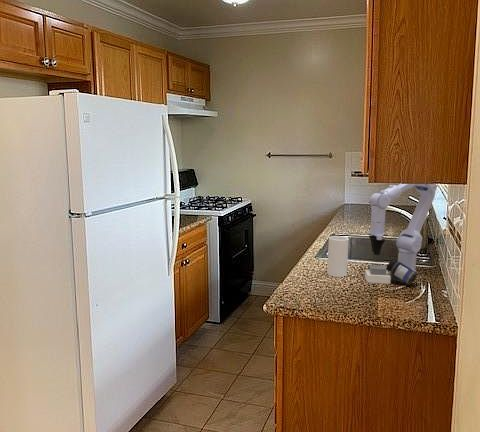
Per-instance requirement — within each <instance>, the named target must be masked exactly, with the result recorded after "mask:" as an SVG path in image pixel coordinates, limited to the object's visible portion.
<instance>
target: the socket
mask: <svg viewBox="0 0 480 432" xmlns="http://www.w3.org/2000/svg"><path fill="white" fill-rule="evenodd" d="M364 278H365V281H366V283H369V284H384V285H385V284H386V285H387V284H388V285H391V280H392V279H391V274H390V273H389V272H388V270H387V272H386V275H375V274H371V273H370V271H369V269H364Z"/></svg>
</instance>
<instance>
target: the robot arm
mask: <svg viewBox="0 0 480 432" xmlns="http://www.w3.org/2000/svg"><path fill="white" fill-rule="evenodd" d="M438 187H439V184H438V185H436V184H401V183H399V184H397V185H396V184H390V185H388V187H387V188H385V189H382V190H380V192H379V193H378V192H376V193H373V194H372V195H371V196H370V198H369V199H368V203H369V205H370V210H371V211H370V212H371V213H370V231H369V230H368V231H366V232H367V234H370V235H369V236H368V237H369V239H370V243H371V244H370V245H371V251H372V253H373V255H374V256H380V254H381V251H382V247H383V245H384V244H385V241H386V239H385V238H383V237H384V236H385V225H386V211H387V207H388V206H389V205H390V203H391V202H393V201H395V200H396V199H398V198H400V197H401V196H402V193H403V192H406V191H407V190H409V189H412V188H415V190H416V191H417V192H418V193H419V195H420V196H419V199H418V201H417V204H416V207H415V209H414V211H413V213H412V215H411V218H410V220H409V223H408V226H407V228H406V229H404V230H402V231H401V232H400V234H399V235H398V237H397V238H396V241H395V246H396V247H397V249H398V251H399V252H398V255H397V262H401V263H403V264H404V265H406V266H408V267H409V268H411V269H413V270H414V271H416V272H417V273H419V272H418V271H417V270H416V266H417V265H416V264H417V254H418V253H419V251H420V250H421V248H422V241H423V236H422V235H421V233H420V232H421V230H422V228H423V225H424V223H425V220H426V218H427V216H428V214H429V212H430V208H431V207H432V204H433V201H434V199H435V196H436V190H437V188H438Z"/></svg>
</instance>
